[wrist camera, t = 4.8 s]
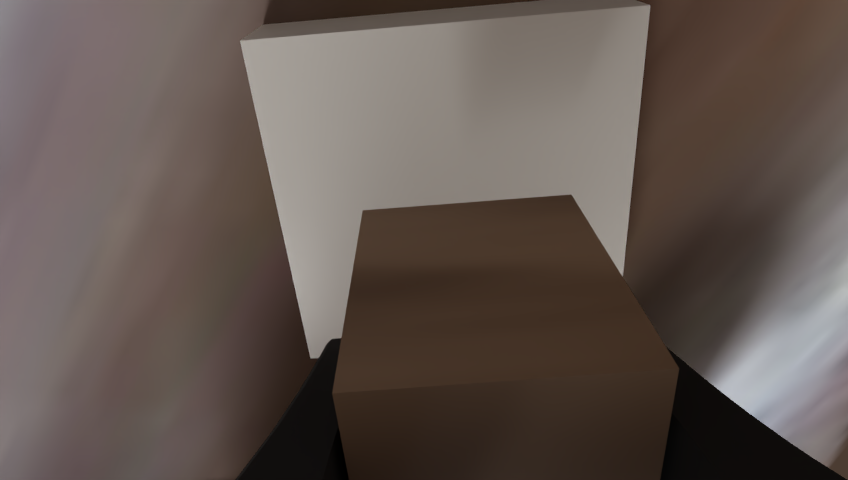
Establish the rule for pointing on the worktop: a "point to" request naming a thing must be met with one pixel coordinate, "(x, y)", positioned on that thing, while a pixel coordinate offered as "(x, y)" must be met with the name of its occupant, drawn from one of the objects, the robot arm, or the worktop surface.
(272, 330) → the worktop surface
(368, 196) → the riser
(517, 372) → the block
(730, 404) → the robot arm
